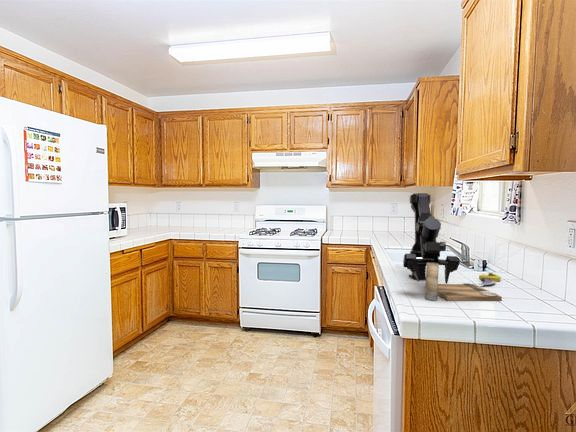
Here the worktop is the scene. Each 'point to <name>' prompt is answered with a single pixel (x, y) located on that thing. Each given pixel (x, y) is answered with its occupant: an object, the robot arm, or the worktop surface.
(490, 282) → the knife
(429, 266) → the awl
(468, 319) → the worktop surface
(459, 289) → the subfloor panel
